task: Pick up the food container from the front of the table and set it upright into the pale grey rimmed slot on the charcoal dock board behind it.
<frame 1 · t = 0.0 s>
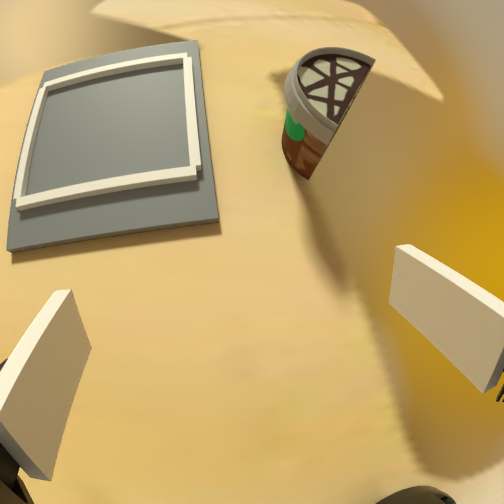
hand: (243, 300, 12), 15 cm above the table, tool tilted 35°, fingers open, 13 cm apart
dock board: (107, 127, 31), on the table
food container: (300, 136, 33), on the table
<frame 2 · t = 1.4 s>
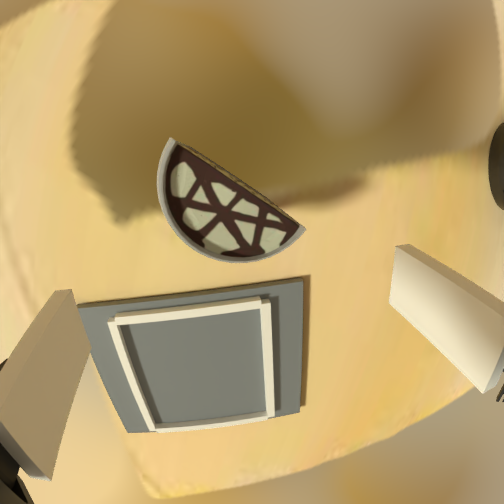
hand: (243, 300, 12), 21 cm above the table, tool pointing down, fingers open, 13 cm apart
dock board: (199, 369, 38), on the table
food container: (211, 197, 31), on the table
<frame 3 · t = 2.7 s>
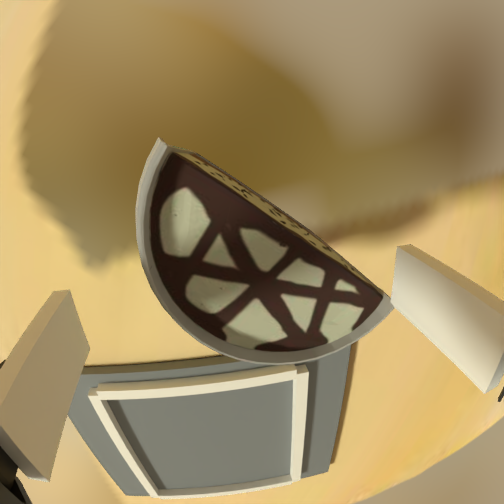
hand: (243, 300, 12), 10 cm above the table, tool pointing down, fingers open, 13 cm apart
dock board: (210, 439, 28), on the table
food container: (227, 229, 21), on the table, touching gripper
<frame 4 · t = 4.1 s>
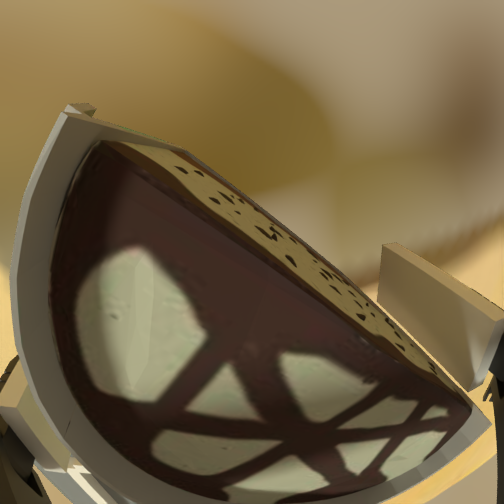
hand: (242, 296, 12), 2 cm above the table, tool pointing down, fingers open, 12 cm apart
dock board: (214, 500, 21), on the table
food container: (226, 270, 14), on the table, touching gripper
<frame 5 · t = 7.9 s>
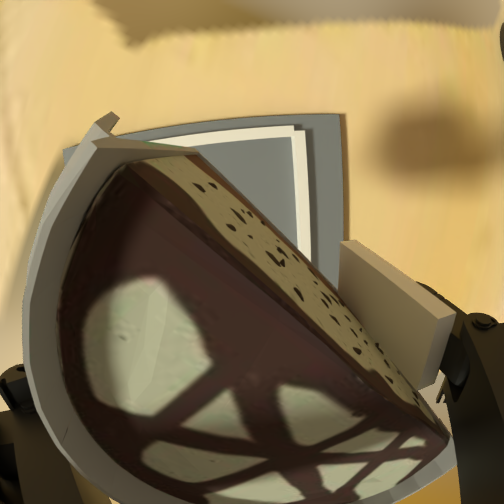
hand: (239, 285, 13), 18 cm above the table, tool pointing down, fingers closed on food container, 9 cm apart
dock board: (213, 238, 31), on the table
food container: (224, 275, 14), point 17 cm above the table, touching gripper
when the fingers open (2 cm above the table, at t = 11.5 s): food container stays where it is, resting on dock board.
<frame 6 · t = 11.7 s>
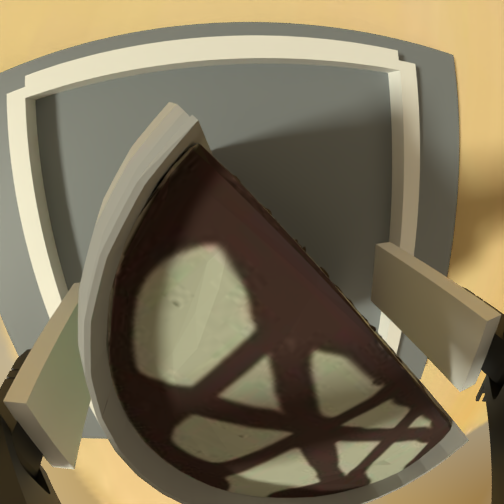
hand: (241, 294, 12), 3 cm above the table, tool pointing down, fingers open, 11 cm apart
dock board: (231, 263, 15), on the table
food container: (232, 273, 15), point 1 cm above the table, touching dock board
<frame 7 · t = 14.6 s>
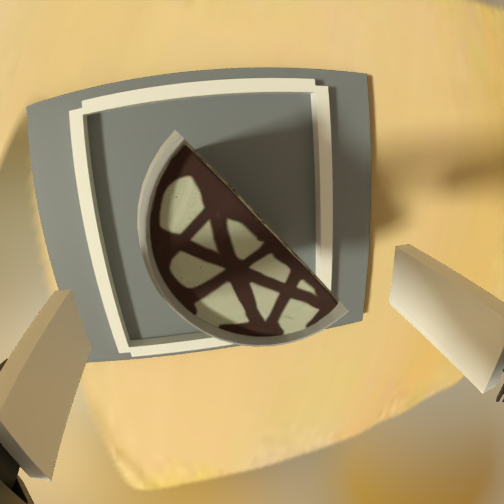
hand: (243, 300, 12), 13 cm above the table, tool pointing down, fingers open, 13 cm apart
dock board: (209, 220, 24), on the table
food container: (209, 225, 23), point 1 cm above the table, touching dock board
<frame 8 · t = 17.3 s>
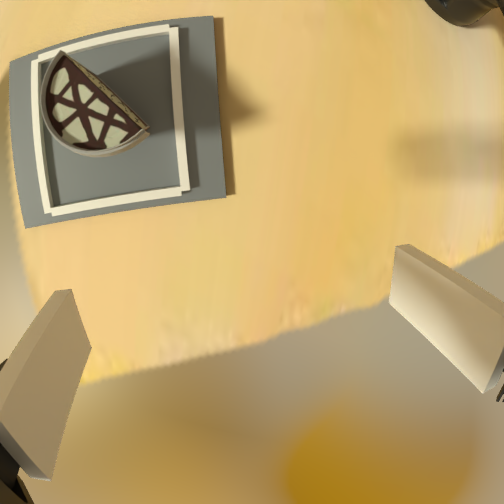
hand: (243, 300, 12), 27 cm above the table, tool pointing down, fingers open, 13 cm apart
dock board: (106, 118, 31), on the table
food container: (104, 120, 31), point 1 cm above the table, touching dock board
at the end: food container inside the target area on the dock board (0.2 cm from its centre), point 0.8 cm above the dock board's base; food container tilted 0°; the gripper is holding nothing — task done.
